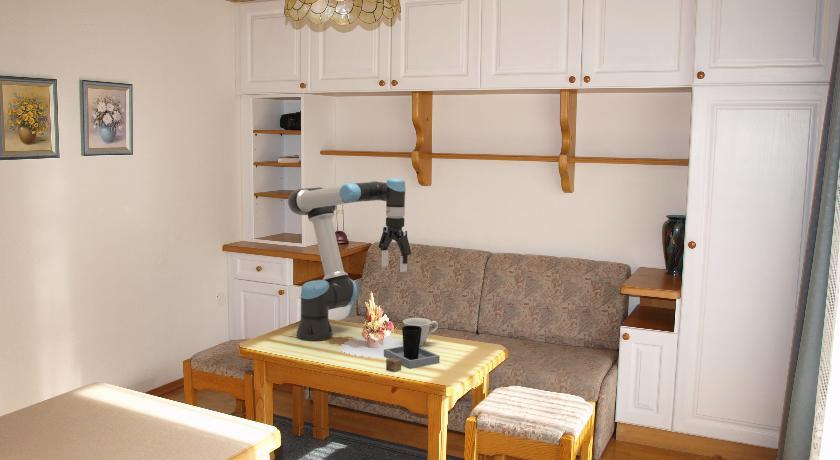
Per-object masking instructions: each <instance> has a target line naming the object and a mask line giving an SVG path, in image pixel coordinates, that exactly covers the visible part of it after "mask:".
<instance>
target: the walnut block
mask: <svg viewBox="0 0 840 460" xmlns="http://www.w3.org/2000/svg"><path fill="white" fill-rule="evenodd" d="M385 370H386V371H387V372H388V371H389V372H392V373H396V372H398V371H399V372H400V371H401V370H402V365H401V359H397V358H390V359H389V358H386V365H385Z"/></svg>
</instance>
